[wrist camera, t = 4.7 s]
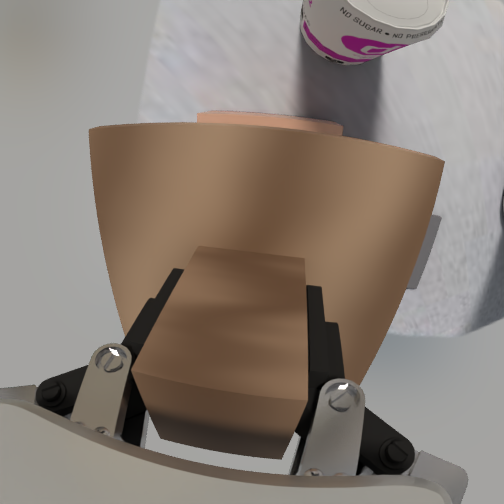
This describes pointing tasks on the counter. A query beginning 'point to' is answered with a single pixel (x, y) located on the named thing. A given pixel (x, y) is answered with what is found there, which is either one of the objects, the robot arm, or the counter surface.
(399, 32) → the supplement can
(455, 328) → the counter surface
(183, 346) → the lid
